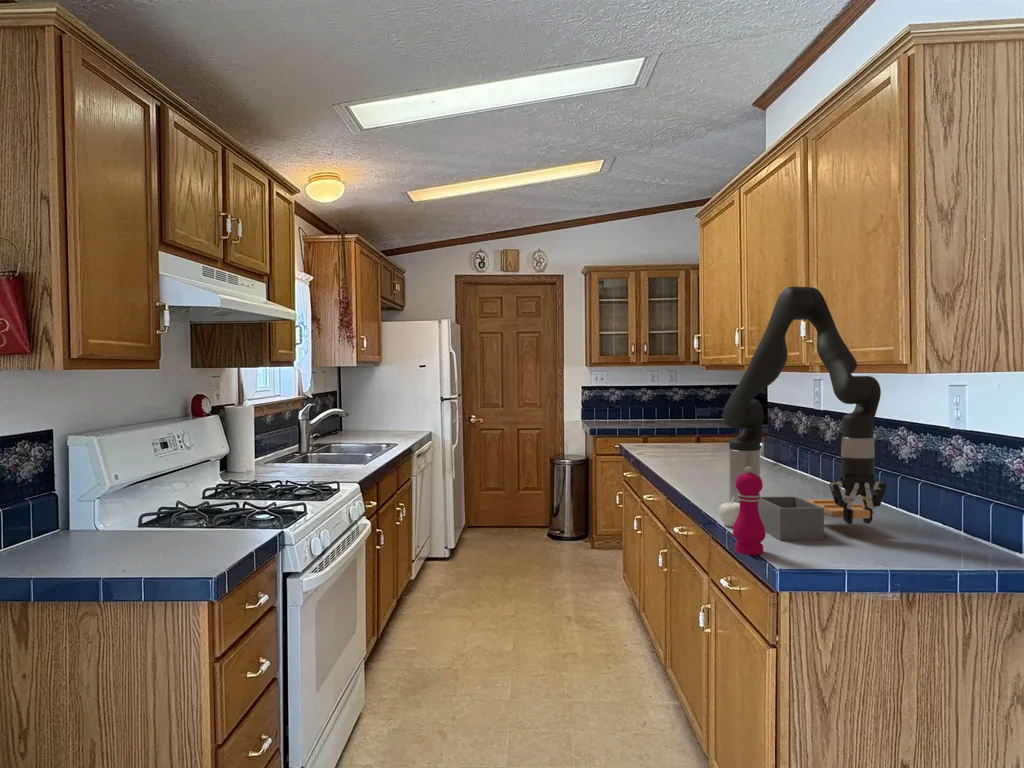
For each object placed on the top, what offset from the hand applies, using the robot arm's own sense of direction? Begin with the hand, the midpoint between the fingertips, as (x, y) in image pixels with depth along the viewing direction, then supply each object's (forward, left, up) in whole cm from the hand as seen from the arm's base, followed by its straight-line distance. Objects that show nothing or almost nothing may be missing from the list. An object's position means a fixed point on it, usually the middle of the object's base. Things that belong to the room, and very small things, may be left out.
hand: (857, 522), depth 173 cm
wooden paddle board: (-8, 0, +1) cm, 8 cm away
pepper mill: (+12, -32, -4) cm, 34 cm away
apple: (-15, -27, -4) cm, 31 cm away
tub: (-6, -15, -4) cm, 17 cm away
